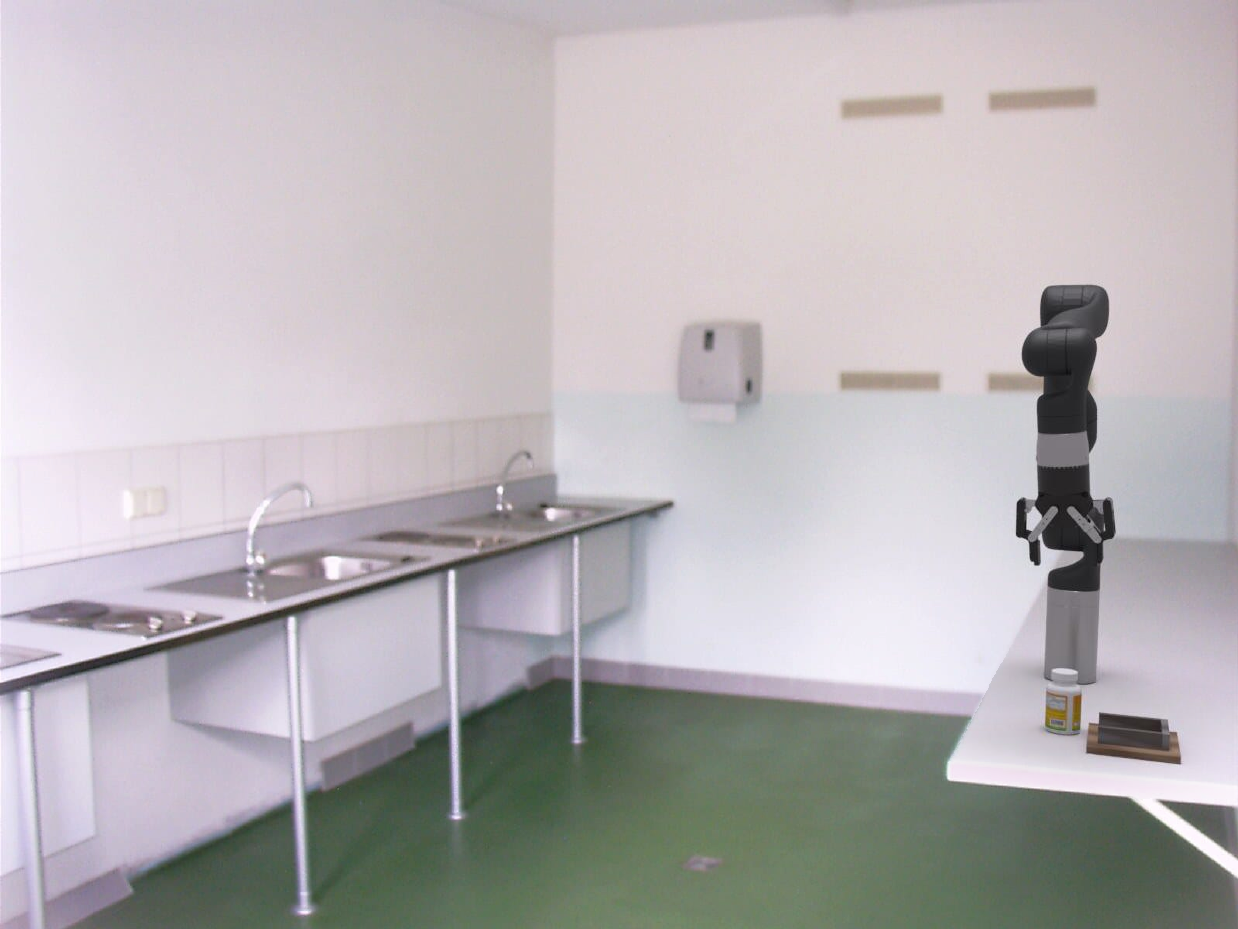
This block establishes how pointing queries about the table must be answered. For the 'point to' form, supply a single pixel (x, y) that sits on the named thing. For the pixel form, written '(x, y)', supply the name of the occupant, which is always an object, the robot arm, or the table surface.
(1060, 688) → the supplement bottle
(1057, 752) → the table surface
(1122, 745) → the u holder
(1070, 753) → the table surface
